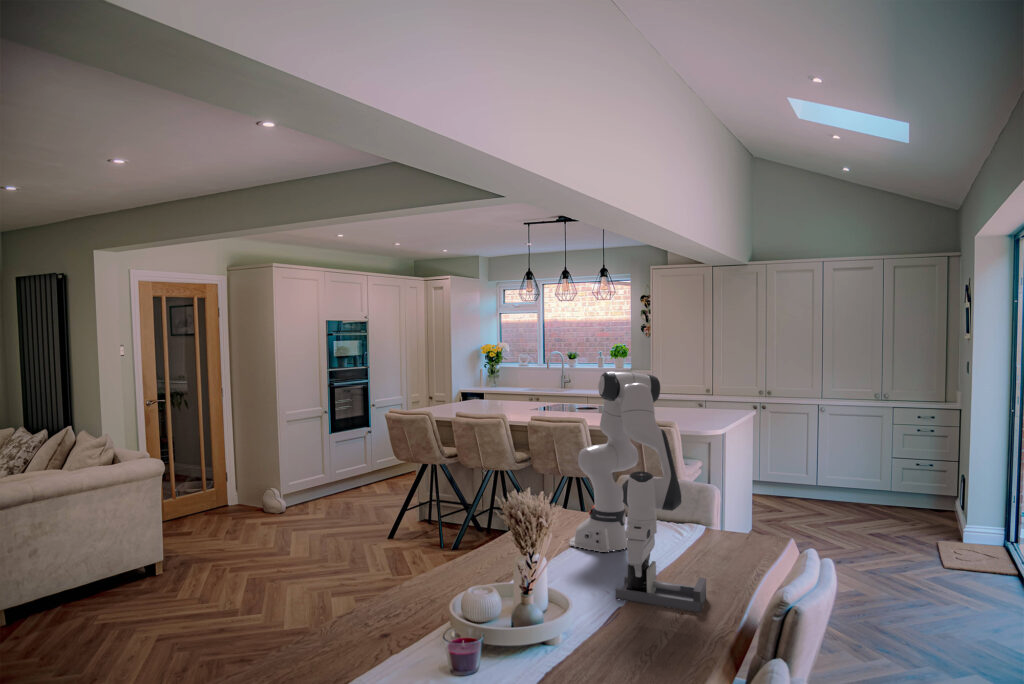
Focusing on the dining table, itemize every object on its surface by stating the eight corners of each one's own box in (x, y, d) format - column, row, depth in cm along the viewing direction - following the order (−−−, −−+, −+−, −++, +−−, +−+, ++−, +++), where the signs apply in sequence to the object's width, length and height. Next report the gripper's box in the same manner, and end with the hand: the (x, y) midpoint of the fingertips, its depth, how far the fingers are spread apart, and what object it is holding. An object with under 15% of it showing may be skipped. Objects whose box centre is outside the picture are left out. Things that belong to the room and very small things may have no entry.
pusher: (647, 599, 192) (646, 569, 192) (652, 589, 199) (652, 560, 199) (677, 604, 188) (677, 574, 188) (682, 594, 195) (682, 564, 195)
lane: (615, 599, 194) (615, 579, 194) (625, 585, 204) (625, 567, 204) (700, 612, 184) (700, 592, 184) (706, 598, 194) (705, 578, 194)
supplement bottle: (650, 598, 193) (649, 559, 193) (627, 597, 194) (626, 557, 194) (650, 590, 199) (649, 551, 199) (628, 588, 201) (627, 550, 201)
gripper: (639, 516, 207) (640, 558, 207) (623, 534, 188) (624, 581, 188) (659, 518, 204) (659, 561, 204) (644, 536, 186) (645, 584, 186)
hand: (642, 571), depth 196 cm, fingers open, 8 cm apart
